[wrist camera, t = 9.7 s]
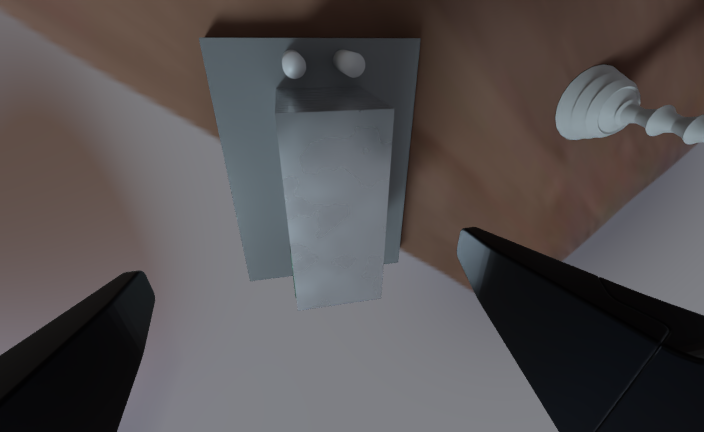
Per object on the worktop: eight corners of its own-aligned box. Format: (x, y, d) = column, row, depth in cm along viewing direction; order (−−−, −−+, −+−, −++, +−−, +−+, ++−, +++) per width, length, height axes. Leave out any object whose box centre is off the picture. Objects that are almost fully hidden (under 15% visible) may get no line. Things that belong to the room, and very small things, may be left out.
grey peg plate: (412, 38, 18) (446, 39, 14) (393, 253, 25) (412, 289, 22) (204, 37, 16) (182, 38, 12) (251, 270, 23) (246, 313, 20)
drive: (361, 86, 17) (395, 108, 12) (358, 237, 22) (382, 298, 17) (275, 88, 16) (273, 113, 11) (292, 244, 21) (296, 310, 16)
